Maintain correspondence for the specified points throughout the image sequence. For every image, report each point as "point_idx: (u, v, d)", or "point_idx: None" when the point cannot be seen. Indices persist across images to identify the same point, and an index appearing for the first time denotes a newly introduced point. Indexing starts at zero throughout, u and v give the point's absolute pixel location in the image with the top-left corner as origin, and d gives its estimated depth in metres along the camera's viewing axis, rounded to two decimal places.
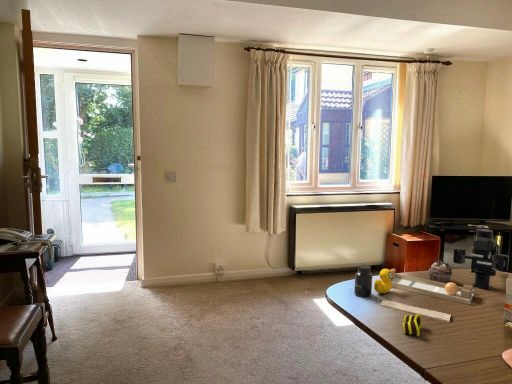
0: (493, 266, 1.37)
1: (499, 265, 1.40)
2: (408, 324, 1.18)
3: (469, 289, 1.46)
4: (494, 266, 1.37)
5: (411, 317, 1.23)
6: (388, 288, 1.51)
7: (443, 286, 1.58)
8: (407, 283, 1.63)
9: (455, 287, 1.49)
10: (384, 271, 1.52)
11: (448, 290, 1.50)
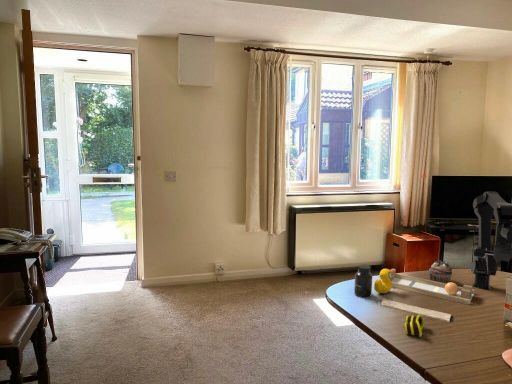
0: None
1: None
2: (410, 325, 1.18)
3: (469, 289, 1.46)
4: None
5: (413, 317, 1.22)
6: (388, 288, 1.51)
7: (443, 286, 1.58)
8: (407, 283, 1.63)
9: (455, 287, 1.49)
10: (384, 271, 1.52)
11: (448, 290, 1.50)
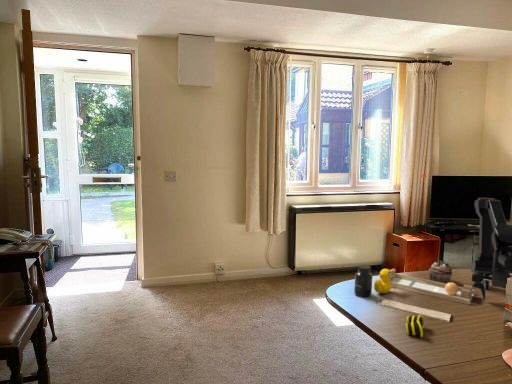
0: None
1: None
2: (411, 325, 1.17)
3: (469, 289, 1.46)
4: None
5: (414, 318, 1.22)
6: (388, 288, 1.51)
7: (443, 286, 1.58)
8: (407, 283, 1.63)
9: (455, 287, 1.49)
10: (384, 271, 1.52)
11: (448, 290, 1.50)
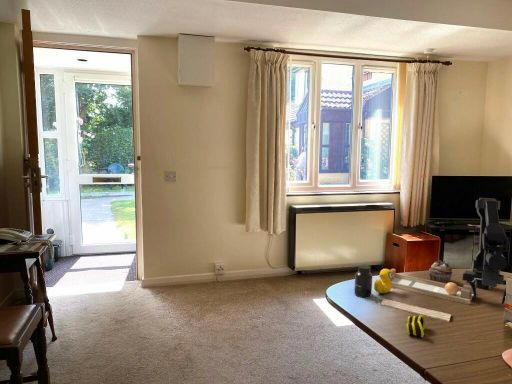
0: (504, 301, 1.40)
1: None
2: (412, 325, 1.17)
3: (469, 289, 1.46)
4: None
5: (414, 318, 1.22)
6: (388, 288, 1.51)
7: (443, 286, 1.58)
8: (407, 283, 1.63)
9: (455, 287, 1.49)
10: (384, 271, 1.52)
11: (448, 290, 1.50)
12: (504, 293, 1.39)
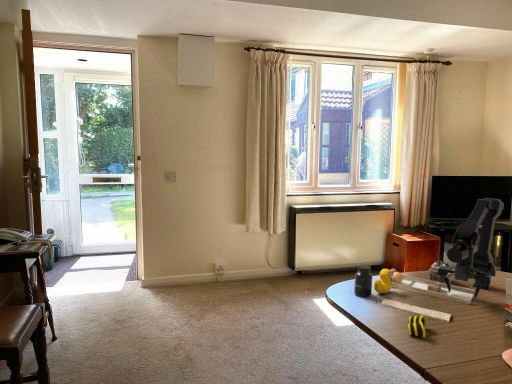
0: (476, 295, 1.46)
1: None
2: (414, 325, 1.17)
3: (439, 291, 1.53)
4: (477, 293, 1.46)
5: (416, 318, 1.22)
6: (388, 288, 1.51)
7: (443, 286, 1.58)
8: (407, 283, 1.63)
9: None
10: (384, 271, 1.52)
11: (396, 280, 1.61)
12: (476, 287, 1.44)
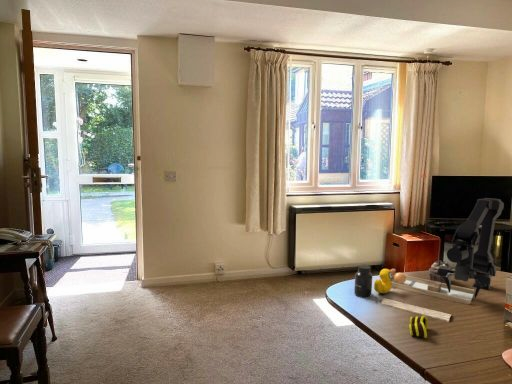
0: (476, 295, 1.46)
1: None
2: (415, 326, 1.17)
3: (439, 291, 1.53)
4: (477, 293, 1.46)
5: (417, 319, 1.21)
6: (388, 288, 1.51)
7: (443, 286, 1.58)
8: (407, 283, 1.63)
9: (395, 275, 1.62)
10: (384, 271, 1.52)
11: (398, 281, 1.61)
12: (476, 287, 1.44)
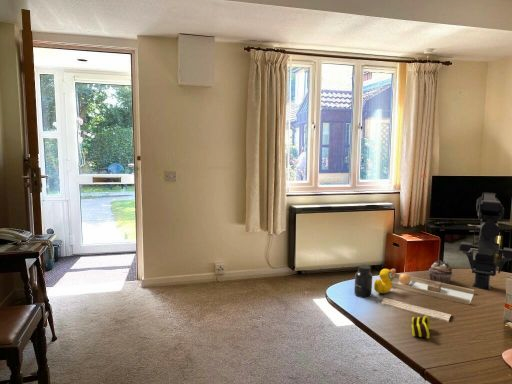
0: (500, 270, 1.43)
1: None
2: (417, 326, 1.16)
3: (439, 291, 1.53)
4: None
5: (419, 319, 1.21)
6: (388, 288, 1.51)
7: (443, 286, 1.58)
8: None
9: (404, 275, 1.60)
10: (384, 271, 1.52)
11: (402, 281, 1.60)
12: (500, 262, 1.41)
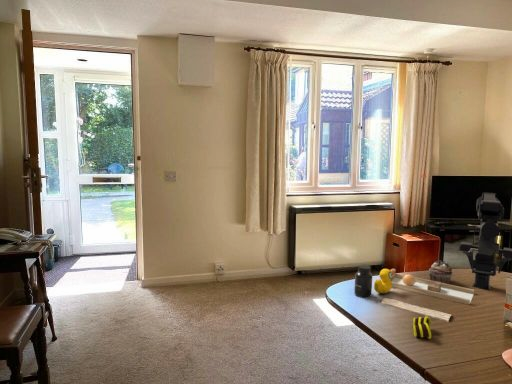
0: (500, 270, 1.43)
1: None
2: (419, 327, 1.16)
3: (439, 291, 1.53)
4: None
5: (420, 319, 1.21)
6: (388, 288, 1.51)
7: (443, 286, 1.58)
8: None
9: (411, 277, 1.58)
10: (384, 271, 1.52)
11: (405, 281, 1.59)
12: (500, 262, 1.41)
